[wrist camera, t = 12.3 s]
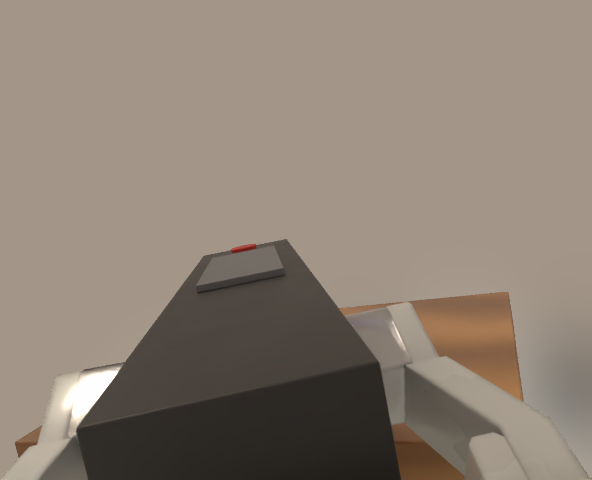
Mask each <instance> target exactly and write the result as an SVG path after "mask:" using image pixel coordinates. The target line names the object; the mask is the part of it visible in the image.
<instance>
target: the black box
mask: <svg viewBox="0 0 592 480" xmlns="http://www.w3.org/2000/svg"><path fill="white" fill-rule="evenodd" d="M76 433H77V437H78V441H79V445H80V449H81V453H82V457H83V461H84V465H85V469H86V473H87V477H88V480H401V475H400V470H399V464H398V459H397V454H396V448H395V443H394V437H393V432H392V426H391V421H390V415H389V410H388V405H387V399H386V394H385V388H384V383H383V377H382V372H381V366H380V363H379V361H378V360H377V358H376V357H375V356H374V355H373V353H372V352H371V351H370V349H369V348H368V347H367V345H366V344H365V343H364V341H363V340H362V339H361V337H360V336H359V335H358V333H357V332H356V331H355V329H354V328H353V327H352V325H351V324H350V323H349V321H348V320H347V319H346V317H345V316H344V315H343V313H342V312H341V311H340V310H339V308H338V307H337V306H336V304H335V303H334V302H333V300H332V299H331V298H330V296H329V295H328V294H327V292H326V291H325V290H324V288H323V287H322V286H321V284H320V283H319V282H318V280H317V279H316V278H315V276H314V275H313V274H312V272H310V270H309V269H308V267H307V266H306V265H305V263H304V262H303V261H302V259H301V258H300V257H299V255H298V254H297V253H296V251H295V250H294V249H293V247H292V246H291V245H290V243H289V242H288V241H287V240H286V239H285V240H281V241H275V242H270V243H265V244H260V245H256V244H250V245H244V246H240V247H236V248H233V249H231V251H226V252H221V253H217V254H211V255H206V256H204V257H203V258H202V259H201V261H200V262H199V263H198V265H197V266H196V267H195V269H194V270H193V271H192V273H191V274H190V275H189V277H188V278H187V279H186V281H185V282H184V283H183V285H182V286H181V288H180V289H179V290H178V292H177V293H176V294H175V296H174V297H173V298H172V300H171V301H170V302H169V304H168V305H167V306H166V308H165V309H164V311H163V312H162V313H161V315H160V316H159V317H158V319H157V320H156V321H155V323H154V324H153V325H152V327H151V328H150V329H149V331H148V332H147V334H146V335H145V336H144V337H143V339H142V340H141V341H140V343H139V344H138V345H137V347H136V348H135V349H134V351H133V352H132V354H131V355H130V356H129V358H128V359H127V360H126V362H125V363H124V364H123V366H122V367H121V368H120V370H119V371H118V372H117V374H116V375H115V376H114V378H113V379H112V380H111V382H110V383H109V385H108V386H107V387H106V389H105V390H104V391H103V393H102V394H101V395H100V397H99V398H98V399H97V401H96V402H95V403H94V405H93V406H92V407H91V409H90V410H89V411H88V413H87V414H86V416H85V417H84V418H83V420H82V421H81V422H80V424H79V425H78V426H77V428H76Z"/></svg>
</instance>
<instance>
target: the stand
mask: <svg viewBox="0 0 592 480" xmlns="http://www.w3.org/2000/svg"><path fill="white" fill-rule="evenodd" d="M408 302H409V303H411V304H412V306H413V308H414V310H415V311H416V313H417V315H418V317H419V319H420V321H421V323H422V325H423V327H424V329H425V331H426V333H427V334H428V336H429V338H430V340H431V342H432V344H433V346H434V348H435V350H436V352H437V354H438V356H439V357H444V356H447V357H449V358H451V359H452V360H454V361H456V362H457V363H459V364H461V365H462V366H464V367H466V368H467V369H469V370H471V371H472V372H474V373H476V374H477V375H479V376H481V377H482V378H484V379H486V380H487V381H489V382H491V383H492V384H494V385H496V386H498V387H499V388H501V389H503V390H504V391H506V392H508V393H509V394H511V395H513V396H514V397H516V398H518V399H519V400H521V401H523V393H522V386H521V379H520V371H519V363H518V356H517V348H516V341H515V334H514V327H513V319H512V312H511V306H510V299H509V293H508V292H500V293H489V294H479V295H471V296H470V295H469V296H459V297H449V298H440V299H428V300H419V301H408ZM400 303H404V302H399V303H388V304H378V305H367V306H357V307H347V308H339V310H340V311H341V312H342V313H343V315H344V316H346V315H350V314H355V313H359V312H364V311H368V310H373V309H377V308H382V307H386V306H391V305H395V304H400ZM523 402H524V401H523ZM391 426H392V432H393V437H394V443H395V448H396V454H397V459H398V464H399V470H400V475H401V480H464V478H465V476H464V475H463V474H462V473H460V472H459V471H458V470H457V469H456V468H455V467H454V466H452V465H451V464H450V463H449V462H448V461H447V460H446V459H444V458H443V457H442V456H441V455H440V454H439V453H438V452H436V451H435V450H434V449H433V448H432V447H431V446H430V445H428V444H427V443H426V442H425V441H424V440H423V439H422V438H420V437H419V436H418V435H417V434H416V433H415V432H414V431H412V430H411V429H410V428H409V427H408V426H407V425H406V423H402V424H397V425H391ZM41 428H42V426H40V427H39V428H37V429H35V430H34V431H32V432H30V433H29V434H27V435H26V436H24V437H23V438H21V439H20V440H18V441H16V442H15V445H16V449H17V453H18V457H19V458H20V457H21V455H22V454H23V453H24V452H25V451H26V450H27V449H28V448H29V447H30V446H34V445H37V443H38V439H39V435H40V432H41Z"/></svg>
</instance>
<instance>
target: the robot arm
mask: <svg viewBox="0 0 592 480" xmlns="http://www.w3.org/2000/svg"><path fill="white" fill-rule="evenodd" d="M345 317H346V319H347V320H348V321H349V323H350V324H351V325H352V327H353V328H354V329H355V331H356V332H357V333H358V335H359V336H360V337H361V339H362V340H363V341H364V343H365V344H366V345H367V347H368V348H369V349H370V351H371V352H372V353H373V355H374V356H375V357H376V358H377V360H378V361H379V363H380V366H381V372H382V377H383V383H384V388H385V394H386V399H387V405H388V410H389V415H390V421H391V425H397V424H402V423H406V425H407V426H408V427H409V428H410V429H411V430H412V431H414V432H415V433H416V434H417V435H418V436H419V437H420V438H422V439H423V440H424V441H425V442H426V443H427V444H428V445H430V446H431V447H432V448H433V449H434V450H435V451H436V452H438V453H439V454H440V455H441V456H442V457H443V458H444V459H446V460H447V461H448V462H449V463H450V464H451V465H452V466H454V467H455V468H456V469H457V470H458V471H459V472H460V473H462V474H463V475H464V476H465V478H464V480H592V478H590V477H589V476H588V475H587V473H586V471H585V470H584V468H583V467H582V466H581V464H580V462H579V461H578V459H577V458H576V456H575V455H574V453H573V452H572V450H571V449H570V447H569V446H568V444H567V443H566V441H565V440H564V438H563V437H562V435H561V434H560V432H559V431H558V429H557V427H556V426H555V424H554V423H553V421H552V420H551V418H550V417H548V416H546V415H544V414H543V413H541V412H540V411H538V410H536V409H534V408H533V407H531V406H529V405H528V404H526V403H524V402H523V401H521V400H519V399H518V398H516V397H514V396H513V395H511V394H509V393H508V392H506V391H504V390H503V389H501V388H499V387H498V386H496V385H494V384H492V383H491V382H489V381H487V380H486V379H484V378H482V377H481V376H479V375H477V374H476V373H474V372H472V371H471V370H469V369H467V368H466V367H464V366H462V365H461V364H459V363H457V362H456V361H454V360H452V359H451V358H449V357H447V356H444V357H439V356H438V354H437V352H436V350H435V348H434V346H433V344H432V342H431V340H430V338H429V336H428V334H427V333H426V331H425V329H424V327H423V325H422V323H421V321H420V319H419V317H418V315H417V313H416V311H415V310H414V308H413V306H412V304H411V303H409V302H404V303H400V304H395V305H391V306H386V307H382V308H377V309H373V310H368V311H364V312H359V313H355V314H350V315H346V316H345ZM124 363H125V362H123V363H118V364H113V365H107V366H102V367H97V368H91V369H85V370H83V371H77V372H72V373H67V374H61V375H59V376H58V377H57V378H56V380H55V381H54V384H53V388H52V391H51V395H50V398H49V402H48V406H47V409H46V413H45V417H44V421H43V425H42V428H41V432H40V435H39V439H38V443H37V445H34V446H30V447H29V448H28V449H27V450H26V451H25V452H24V453H23V454H22V455H21V457H20V458H19V459H18V460H17V461H16V462H15V463H14V464H13V466H11V468H10V469H9V470H8V471H7V472H6V473H5V474H4V475H3V477H2V478H1V479H0V480H88V477H87V473H86V469H85V465H84V461H83V457H82V453H81V449H80V445H79V441H78V437H77V433H76V428H77V426H78V425H79V424H80V422H81V421H82V420H83V418H84V417H85V416H86V414H87V413H88V411H89V410H90V409H91V407H92V406H93V405H94V403H95V402H96V401H97V399H98V398H99V397H100V395H101V394H102V393H103V391H104V390H105V389H106V387H107V386H108V385H109V383H110V382H111V380H112V379H113V378H114V376H115V375H116V374H117V372H118V371H119V370H120V368H121V367H122V366H123V364H124Z"/></svg>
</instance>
